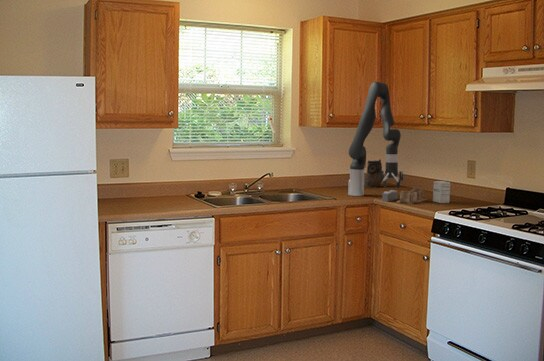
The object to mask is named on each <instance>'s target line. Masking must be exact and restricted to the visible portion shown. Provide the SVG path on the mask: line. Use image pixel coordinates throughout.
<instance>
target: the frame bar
mask: <svg viewBox="0 0 544 361" xmlns="http://www.w3.org/2000/svg"><path fill="white" fill-rule="evenodd" d="M398 192H399V191H397V190H394V189H393V190H392V189H390V190H389V191H383V192H382V193H381V194H382V196H381V201H382V202H391V201H397V200H398V198H399V197H398V196H399V195H398Z"/></svg>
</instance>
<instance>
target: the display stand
mask: <svg viewBox="0 0 544 361" xmlns="http://www.w3.org/2000/svg"><path fill="white" fill-rule="evenodd" d="M423 197H424V190H423V188H414V187H413V188H412V190H409V191H407V190H401V191H400V193H399V200H396V203H398V204H406V205H414V203H415V204H418V203H422V202H425V201H426V200H427V199H426V198H423Z"/></svg>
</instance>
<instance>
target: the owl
mask: <svg viewBox="0 0 544 361" xmlns="http://www.w3.org/2000/svg"><path fill="white" fill-rule="evenodd" d="M382 168H383V165H382V160H381V159H373V160H372V159H371V160H368V161H367V164H366V172H365V178H364V187H366V188H369V189H370V188H371V189H375V187H376V188H381V185H382V182H383V181H382V180H380V175H381V171H382V170H383V169H382Z"/></svg>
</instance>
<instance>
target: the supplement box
mask: <svg viewBox="0 0 544 361" xmlns="http://www.w3.org/2000/svg"><path fill="white" fill-rule="evenodd" d="M432 190H433V192H432V202H434V203H438V204H449V203H450V197H451V196H450V194H451V182H449V181H444V180H435V181H433V189H432Z"/></svg>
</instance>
